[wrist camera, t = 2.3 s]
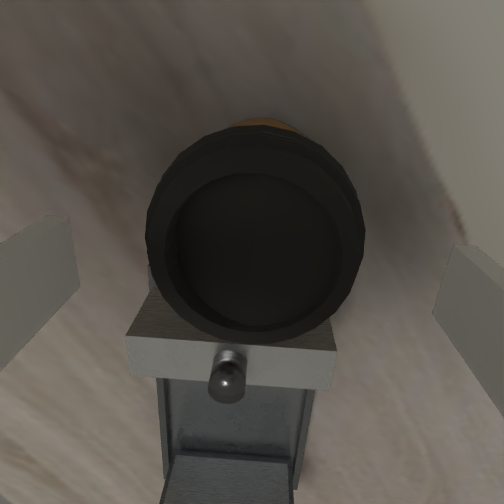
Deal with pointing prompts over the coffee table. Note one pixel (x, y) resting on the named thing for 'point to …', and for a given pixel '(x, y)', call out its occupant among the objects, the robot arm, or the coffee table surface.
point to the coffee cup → (255, 233)
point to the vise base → (231, 442)
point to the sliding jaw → (225, 355)
